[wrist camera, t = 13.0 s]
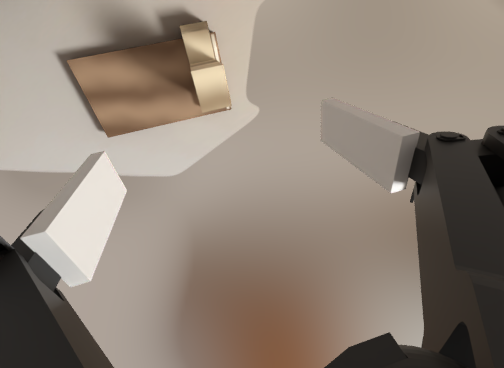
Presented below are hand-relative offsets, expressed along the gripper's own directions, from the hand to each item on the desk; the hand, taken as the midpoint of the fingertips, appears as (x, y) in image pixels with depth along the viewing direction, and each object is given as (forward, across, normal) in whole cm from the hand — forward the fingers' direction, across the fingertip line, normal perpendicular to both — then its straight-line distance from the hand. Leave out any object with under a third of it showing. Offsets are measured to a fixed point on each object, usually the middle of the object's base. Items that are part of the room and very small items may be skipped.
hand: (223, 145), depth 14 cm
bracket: (+31, +1, +2) cm, 31 cm away
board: (+32, -7, 0) cm, 32 cm away
